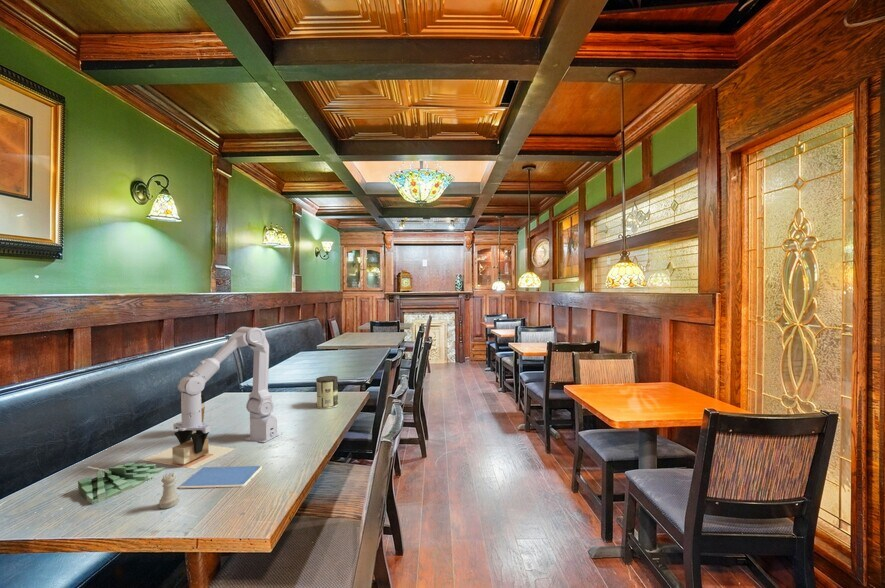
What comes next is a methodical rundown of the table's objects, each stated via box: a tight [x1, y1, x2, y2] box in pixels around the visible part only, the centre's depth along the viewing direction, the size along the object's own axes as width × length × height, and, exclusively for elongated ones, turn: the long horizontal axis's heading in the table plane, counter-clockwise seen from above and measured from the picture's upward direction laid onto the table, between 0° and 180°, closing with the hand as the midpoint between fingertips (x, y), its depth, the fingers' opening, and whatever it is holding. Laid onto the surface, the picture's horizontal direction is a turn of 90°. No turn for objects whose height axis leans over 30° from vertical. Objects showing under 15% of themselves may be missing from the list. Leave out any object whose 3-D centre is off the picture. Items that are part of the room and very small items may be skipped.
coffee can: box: [315, 375, 339, 410], centre depth 188 cm, size 10×10×14 cm
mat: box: [141, 443, 235, 470], centre depth 132 cm, size 24×16×1 cm, turn 72°
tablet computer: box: [178, 465, 263, 490], centre depth 116 cm, size 19×13×1 cm, turn 92°
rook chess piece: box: [158, 472, 180, 510], centre depth 101 cm, size 4×4×8 cm
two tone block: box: [171, 437, 209, 464], centre depth 127 cm, size 9×5×5 cm, turn 163°
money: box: [77, 462, 167, 506], centre depth 112 cm, size 20×16×5 cm
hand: (192, 451), depth 128 cm, fingers closed on two tone block, 5 cm apart
